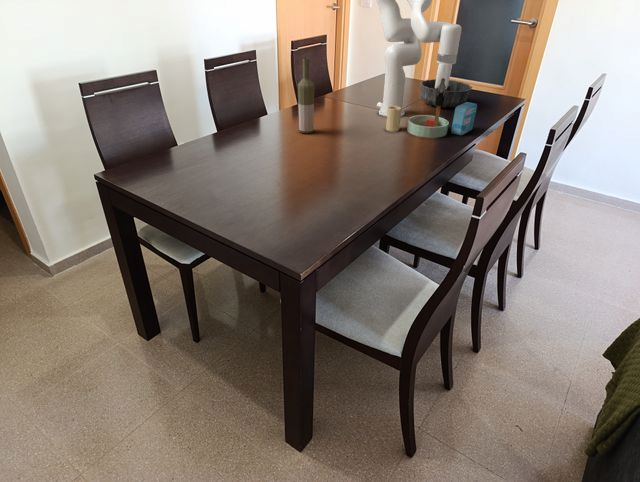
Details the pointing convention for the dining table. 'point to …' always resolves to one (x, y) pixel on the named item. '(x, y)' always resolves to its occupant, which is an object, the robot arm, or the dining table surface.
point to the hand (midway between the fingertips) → (439, 104)
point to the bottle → (306, 100)
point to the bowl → (418, 127)
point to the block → (430, 122)
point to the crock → (393, 118)
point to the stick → (437, 116)
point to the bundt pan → (445, 93)
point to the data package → (464, 118)
